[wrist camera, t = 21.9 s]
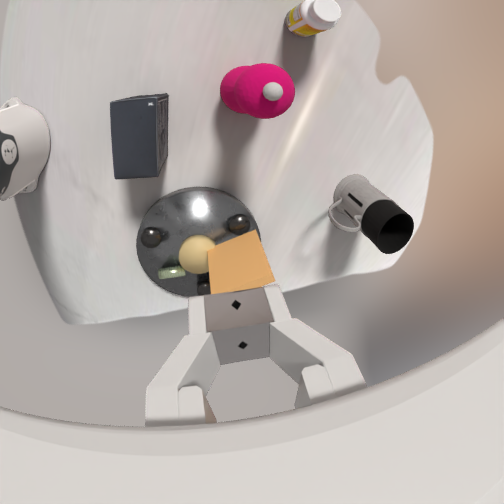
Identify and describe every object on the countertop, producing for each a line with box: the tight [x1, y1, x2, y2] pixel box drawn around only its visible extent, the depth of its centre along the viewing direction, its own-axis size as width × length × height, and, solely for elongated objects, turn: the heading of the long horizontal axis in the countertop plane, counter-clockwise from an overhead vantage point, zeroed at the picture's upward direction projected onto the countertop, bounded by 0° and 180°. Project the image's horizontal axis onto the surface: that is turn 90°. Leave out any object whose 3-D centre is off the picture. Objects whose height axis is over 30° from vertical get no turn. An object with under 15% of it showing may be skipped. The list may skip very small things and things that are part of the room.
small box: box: [110, 93, 169, 179], centre depth 33 cm, size 11×6×10 cm, turn 176°
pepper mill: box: [220, 63, 295, 119], centre depth 28 cm, size 7×7×20 cm
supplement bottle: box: [285, 0, 341, 37], centre depth 27 cm, size 6×6×10 cm
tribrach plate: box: [136, 187, 261, 297], centre depth 49 cm, size 23×23×4 cm
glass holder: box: [328, 174, 414, 254], centre depth 44 cm, size 9×14×15 cm, turn 86°
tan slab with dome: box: [179, 229, 275, 294], centre depth 43 cm, size 14×7×14 cm, turn 110°
